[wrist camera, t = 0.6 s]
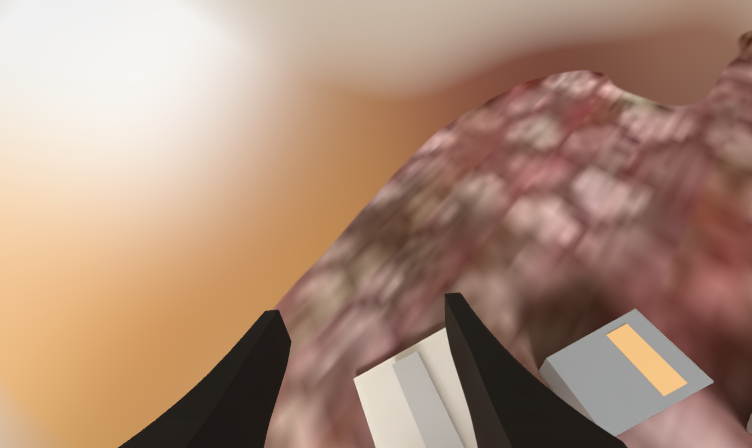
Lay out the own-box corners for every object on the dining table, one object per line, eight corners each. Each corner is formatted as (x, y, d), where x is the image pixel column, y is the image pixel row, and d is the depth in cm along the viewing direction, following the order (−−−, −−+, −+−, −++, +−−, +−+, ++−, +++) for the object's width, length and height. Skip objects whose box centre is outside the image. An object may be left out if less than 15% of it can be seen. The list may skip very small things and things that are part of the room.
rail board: (566, 509, 20) (572, 516, 19) (424, 586, 20) (417, 600, 19) (454, 325, 29) (451, 318, 27) (356, 380, 29) (347, 376, 28)
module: (672, 392, 22) (714, 381, 17) (587, 438, 22) (608, 439, 18) (612, 330, 25) (635, 308, 21) (538, 371, 25) (546, 357, 21)
